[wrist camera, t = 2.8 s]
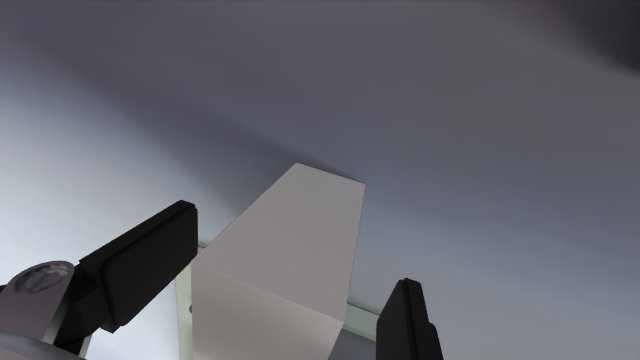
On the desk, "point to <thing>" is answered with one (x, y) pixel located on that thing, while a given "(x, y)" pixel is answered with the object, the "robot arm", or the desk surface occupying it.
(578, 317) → the desk surface
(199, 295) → the plug
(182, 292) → the board
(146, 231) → the robot arm
